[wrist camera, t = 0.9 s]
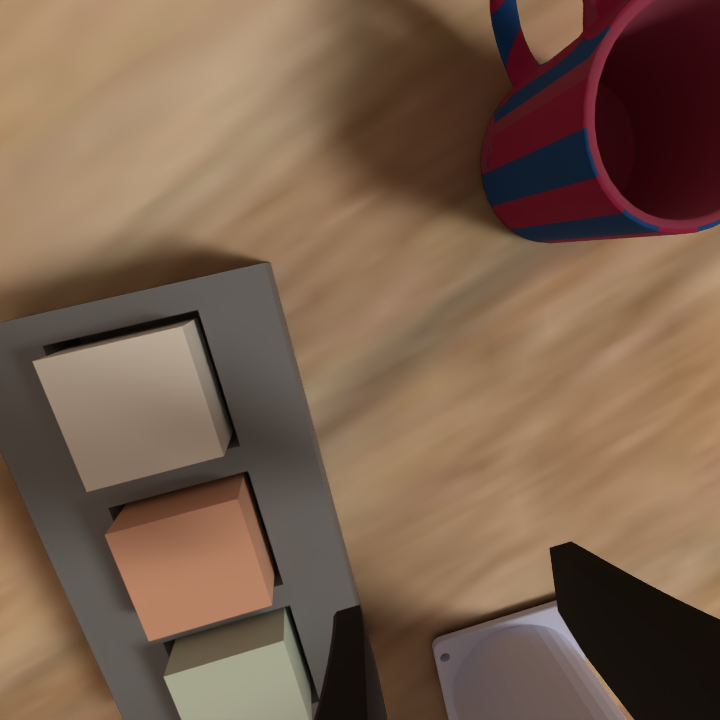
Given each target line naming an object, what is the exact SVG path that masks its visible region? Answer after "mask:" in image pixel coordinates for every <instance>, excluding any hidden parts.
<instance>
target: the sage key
mask: <svg viewBox="0 0 720 720" xmlns="http://www.w3.org/2000/svg"><path fill="white" fill-rule="evenodd" d="M164 679H165V682H166V684H167V686H168V689H169V691H170V694H171V696H172V698H173V701H174V703H175V706H176V708H177V710H178V713H179V715H180V718H181V720H312V706H311V679H310V675H309V672H308V669H307V666H306V663H305V659H304V656H303V653H302V650H301V647H300V643H299V640H298V637H297V634H296V631H295V627H294V624H293V621H292V618H291V615H290V612H289V608H288V606H286V607H282V608H279V609H276V610H272V611H269V612H265V613H262V614H259V615H255V616H252V617H249V618H245V619H242V620H238V621H235V622H232V623H228V624H225V625H221V626H218V627H215V628H211V629H208V630H204V631H201V632H198V633H194V634H191V635H187V636H184V637H181V638H177V639H175V642H174V646H173V649H172V652H171V655H170V658H169V661H168V664H167V668H166V671H165V674H164Z"/></svg>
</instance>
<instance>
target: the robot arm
mask: <svg viewBox="0 0 720 720" xmlns="http://www.w3.org/2000/svg"><path fill="white" fill-rule="evenodd" d="M550 555H551V563H552V570H553V578H554V586H555V593H556V600H555V601H552V602H549V603H546V604H543V605H539V606H536V607H533V608H530V609H526V610H523V611H520V612H517V613H513V614H510V615H507V616H504V617H501V618H497V619H494V620H491V621H488V622H484V623H481V624H478V625H475V626H472V627H468V628H465V629H462V630H459V631H455V632H452V633H449V634H446V635H443V636H439V637H437V638H436V639H435V640H434V641H433V643H432V649H433V653H434V658H435V662H436V667H437V671H438V676H439V680H440V685H441V689H442V694H443V698H444V702H445V707H446V711H447V716H448V720H627V719H626V717H625V716H624V715H623V713H622V712H621V710H620V709H619V708H618V706H617V705H616V703H615V702H614V701H613V699H612V698H611V697H610V695H609V694H608V692H607V691H606V690H605V688H604V687H603V685H602V684H601V683H600V681H599V680H598V679H597V677H596V676H595V674H594V673H593V672H592V670H591V669H590V667H589V666H588V665H587V663H586V660H585V656H586V657H587V658H588V660H589V661H590V662H591V664H592V665H593V666H594V667H595V669H596V670H597V671H598V673H599V674H600V675H601V677H602V678H603V679H604V681H605V682H606V683H607V685H608V686H609V687H610V689H611V690H612V691H613V692H614V694H615V695H616V696H617V698H618V699H619V700H620V702H621V703H622V704H623V705H624V707H625V708H626V709H627V711H628V712H629V713H630V715H631V716H632V717H633V718H634V720H720V619H718V618H715V617H713V616H711V615H709V614H707V613H705V612H702V611H700V610H698V609H696V608H694V607H692V606H690V605H688V604H686V603H684V602H682V601H680V600H677V599H675V598H674V597H672V596H670V595H668V594H666V593H664V592H662V591H660V590H658V589H656V588H654V587H652V586H650V585H648V584H646V583H645V582H643V581H641V580H639V579H637V578H635V577H634V576H632V575H630V574H628V573H626V572H624V571H623V570H621V569H619V568H617V567H616V566H614V565H612V564H610V563H608V562H607V561H605V560H603V559H601V558H600V557H598V556H596V555H594V554H593V553H591V552H589V551H587V550H586V549H584V548H582V547H580V546H578V545H577V544H575V543H573V542H568V543H564V544H561V545H558V546H554V547H551V548H550ZM444 653H446V654H445V655H442V654H444ZM314 720H387V714H386V709H385V704H384V700H383V695H382V690H381V685H380V681H379V676H378V671H377V667H376V663H375V659H374V656H373V652H372V648H371V644H370V640H369V637H368V633H367V629H366V625H365V621H364V618H363V614H362V610H361V606H360V605H357V606H353V607H350V608H347V609H343V610H340V611H337V612H336V613H335V615H334V616H333V630H332V638H331V645H330V651H329V657H328V663H327V668H326V672H325V677H324V681H323V686H322V690H321V695H320V699H319V703H318V707H317V710H316V714H315V717H314Z"/></svg>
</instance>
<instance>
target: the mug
mask: <svg viewBox="0 0 720 720" xmlns="http://www.w3.org/2000/svg"><path fill="white" fill-rule="evenodd" d="M490 14H491V21H492V27H493V31H494V35H495V40H496V43H497V46H498V49H499V52H500V55H501V58H502V61H503V64H504V66H505V69H506V72H507V74H508V77H509V79H510V81H511V83H512V85H513V87H514V88H513V90H512V91H511V92H510V93H509V95H508V96H507V97H506V98H505V99H504V100H503V101H502V102H501V104H500V105H499V107H498V108H497V110H496V111H495V113H494V114H493V117H492V119H491V121H490V123H489V125H488V127H487V130H486V134H485V137H484V141H483V146H482V154H481V174H482V179H483V185H484V189H485V192H486V195H487V197H488V200H489V202H490V204H491V206H492V208H493V209H494V211H495V213H496V214H497V216H498V217H499V218H500V219H501V220H502V221H503V223H504V224H505V225H506V226H508V227H509V228H510V229H511V230H513V231H514V232H515V233H517V234H519V235H521V236H523V237H524V238H527V239H530V240H533V241H537V242H544V243H560V242H574V241H589V240H603V239H618V238H632V237H647V236H661V235H676V234H686V233H695V232H699V231H702V230H705V229H709V228H712V227H714V226H716V225H718V224H720V0H583V32H582V33H581V35H580V36H579V37H578V38H577V39H576V40H574V41H573V42H572V43H571V44H569V45H568V46H567V47H566V48H564V49H563V50H562V51H561V52H559V53H558V54H557V55H556V56H554V57H553V58H552V59H551V60H549V61H548V62H546V63H544V64H542V65H539V64H538V62H537V61H536V59H535V58H534V57H533V55H532V53H531V52H530V50H529V47H528V45H527V43H526V41H525V38H524V35H523V32H522V29H521V26H520V21H519V16H518V10H517V4H516V0H490Z"/></svg>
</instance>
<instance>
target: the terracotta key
mask: <svg viewBox="0 0 720 720" xmlns="http://www.w3.org/2000/svg"><path fill="white" fill-rule="evenodd" d="M105 537H106V540H107V542H108V545H109V547H110V549H111V552H112V554H113V557H114V559H115V561H116V564H117V566H118V569H119V571H120V573H121V576H122V578H123V581H124V583H125V585H126V588H127V590H128V593H129V595H130V597H131V600H132V602H133V605H134V607H135V609H136V612H137V614H138V617H139V619H140V621H141V624H142V626H143V629H144V631H145V633H146V636H147V638H148V641H153V640H156V639H159V638H163V637H166V636H170V635H173V634H176V633H180V632H183V631H187V630H190V629H193V628H197V627H200V626H204V625H207V624H210V623H214V622H217V621H221V620H224V619H227V618H231V617H234V616H238V615H241V614H244V613H248V612H251V611H255V610H258V609H262V608H265V607H268V606H272V600H273V586H274V571H275V564H274V560H273V557H272V554H271V551H270V548H269V544H268V541H267V538H266V535H265V532H264V528H263V525H262V522H261V519H260V516H259V512H258V509H257V506H256V503H255V500H254V496H253V493H252V490H251V487H250V484H249V481H248V477H247V474H246V472H242V473H238V474H234V475H231V476H227V477H223V478H219V479H216V480H212V481H208V482H204V483H201V484H197V485H193V486H189V487H186V488H182V489H178V490H174V491H171V492H167V493H163V494H159V495H155V496H152V497H148V498H144V499H140V500H137V501H133V502H129V503H126V505H125V506H124V508H123V509H122V511H121V512H120V513H119V515H118V516H117V518H116V519H115V521H114V522H113V523H112V525H111V526H110V528H109V529H108V531H107V532H106V533H105Z"/></svg>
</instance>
